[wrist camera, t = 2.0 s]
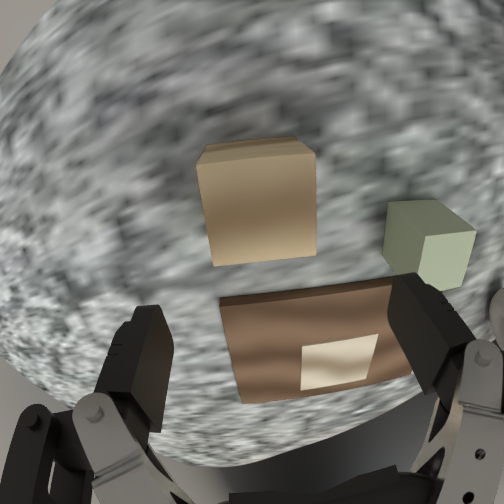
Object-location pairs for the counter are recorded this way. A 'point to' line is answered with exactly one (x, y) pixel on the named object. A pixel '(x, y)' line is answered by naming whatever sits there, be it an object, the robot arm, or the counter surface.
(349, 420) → the counter surface
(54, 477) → the robot arm
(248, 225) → the maple block
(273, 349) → the baseplate
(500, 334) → the donut
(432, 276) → the sage block
